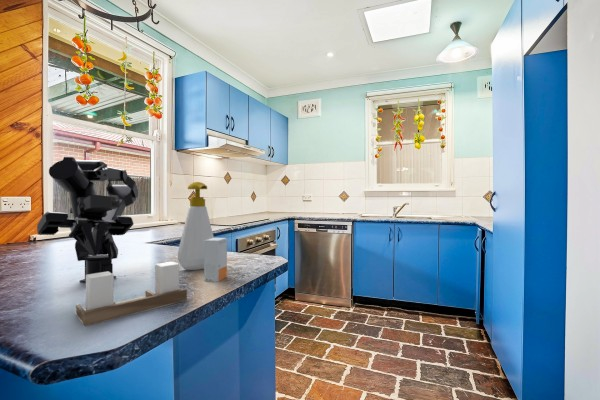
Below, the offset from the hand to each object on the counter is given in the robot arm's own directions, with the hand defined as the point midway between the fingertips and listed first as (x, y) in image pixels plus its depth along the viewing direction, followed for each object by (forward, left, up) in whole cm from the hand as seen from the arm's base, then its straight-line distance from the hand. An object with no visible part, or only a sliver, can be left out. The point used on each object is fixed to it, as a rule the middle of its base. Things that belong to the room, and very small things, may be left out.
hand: (95, 254), depth 70 cm
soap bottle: (+8, +31, -11) cm, 33 cm away
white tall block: (+12, -9, -10) cm, 18 cm away
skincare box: (+20, +21, -11) cm, 30 cm away
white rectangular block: (+18, +2, -10) cm, 21 cm away
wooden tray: (+14, -3, -10) cm, 17 cm away
